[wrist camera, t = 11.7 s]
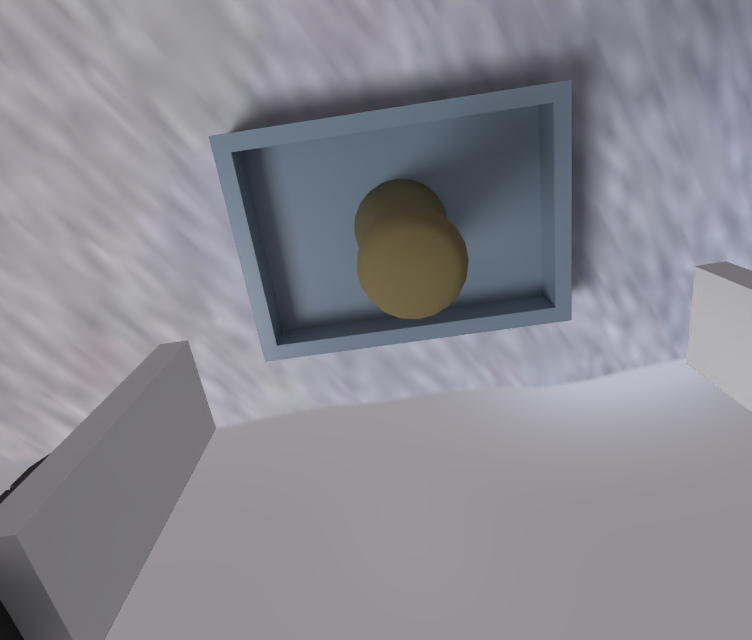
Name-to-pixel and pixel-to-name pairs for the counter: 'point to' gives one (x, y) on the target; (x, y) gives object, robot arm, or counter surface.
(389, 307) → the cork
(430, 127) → the tray
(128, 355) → the counter surface
